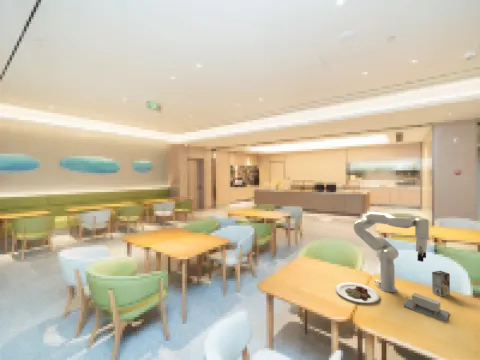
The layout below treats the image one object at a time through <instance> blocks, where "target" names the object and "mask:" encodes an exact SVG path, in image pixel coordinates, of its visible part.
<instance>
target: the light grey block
mask: <svg viewBox="0 0 480 360" xmlns="http://www.w3.org/2000/svg"><path fill="white" fill-rule="evenodd" d="M411 300H412V302H413V303H415V304H418V305H420V306H423V307H426V308H428V309H431V310H434V311H436V312H439V310H440V309H441V301H439V300H437V299H433V298H431V297H428V296H425V295H422V294H419V293H417V292H414V293H413V294H411Z"/></svg>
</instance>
